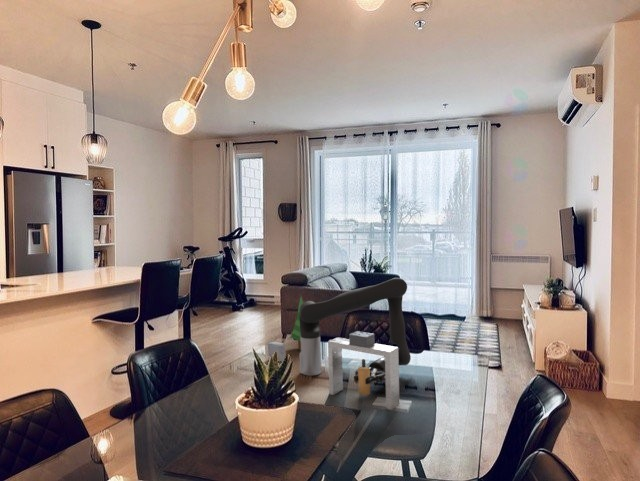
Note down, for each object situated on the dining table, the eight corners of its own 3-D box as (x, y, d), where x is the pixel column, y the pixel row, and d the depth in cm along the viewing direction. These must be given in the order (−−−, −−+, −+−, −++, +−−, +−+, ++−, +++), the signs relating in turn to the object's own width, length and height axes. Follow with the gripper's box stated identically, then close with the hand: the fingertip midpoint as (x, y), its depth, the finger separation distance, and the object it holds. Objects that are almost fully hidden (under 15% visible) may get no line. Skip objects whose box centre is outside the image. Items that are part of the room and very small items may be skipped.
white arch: (329, 394, 185) (327, 331, 184) (338, 388, 191) (337, 327, 189) (390, 409, 169) (389, 341, 167) (399, 403, 174) (398, 336, 173)
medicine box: (285, 359, 231) (285, 343, 231) (280, 362, 227) (279, 345, 227) (273, 357, 235) (273, 341, 235) (268, 360, 232) (267, 343, 231)
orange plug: (357, 394, 179) (356, 360, 178) (361, 390, 183) (360, 356, 183) (368, 396, 177) (367, 361, 176) (371, 391, 181) (371, 358, 181)
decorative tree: (311, 353, 241) (309, 297, 239) (284, 351, 246) (282, 296, 245) (320, 346, 253) (318, 293, 252) (294, 344, 259) (293, 292, 257)
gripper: (366, 356, 195) (345, 368, 182) (396, 362, 187) (376, 374, 173) (366, 373, 196) (345, 386, 182) (396, 379, 187) (376, 393, 174)
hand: (360, 380), depth 178 cm, fingers closed on orange plug, 4 cm apart
